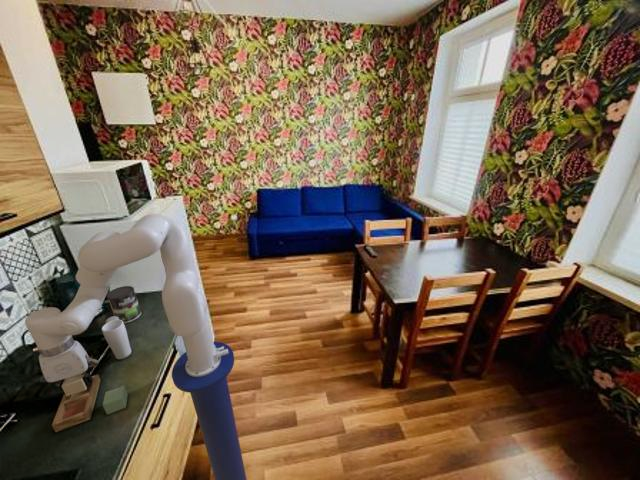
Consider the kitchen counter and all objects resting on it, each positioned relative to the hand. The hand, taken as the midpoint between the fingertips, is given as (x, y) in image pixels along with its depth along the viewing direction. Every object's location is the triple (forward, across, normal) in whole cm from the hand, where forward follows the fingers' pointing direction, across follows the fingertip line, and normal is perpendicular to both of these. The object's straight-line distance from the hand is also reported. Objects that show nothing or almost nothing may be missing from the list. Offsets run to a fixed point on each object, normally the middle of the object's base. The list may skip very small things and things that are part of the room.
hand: (78, 386), depth 89 cm
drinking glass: (+4, +10, +14) cm, 18 cm away
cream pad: (0, 0, 0) cm, 0 cm away
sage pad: (+4, +11, -10) cm, 15 cm away
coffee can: (+4, +9, +41) cm, 43 cm away
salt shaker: (+4, +8, +22) cm, 24 cm away
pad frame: (+4, 0, -4) cm, 6 cm away
